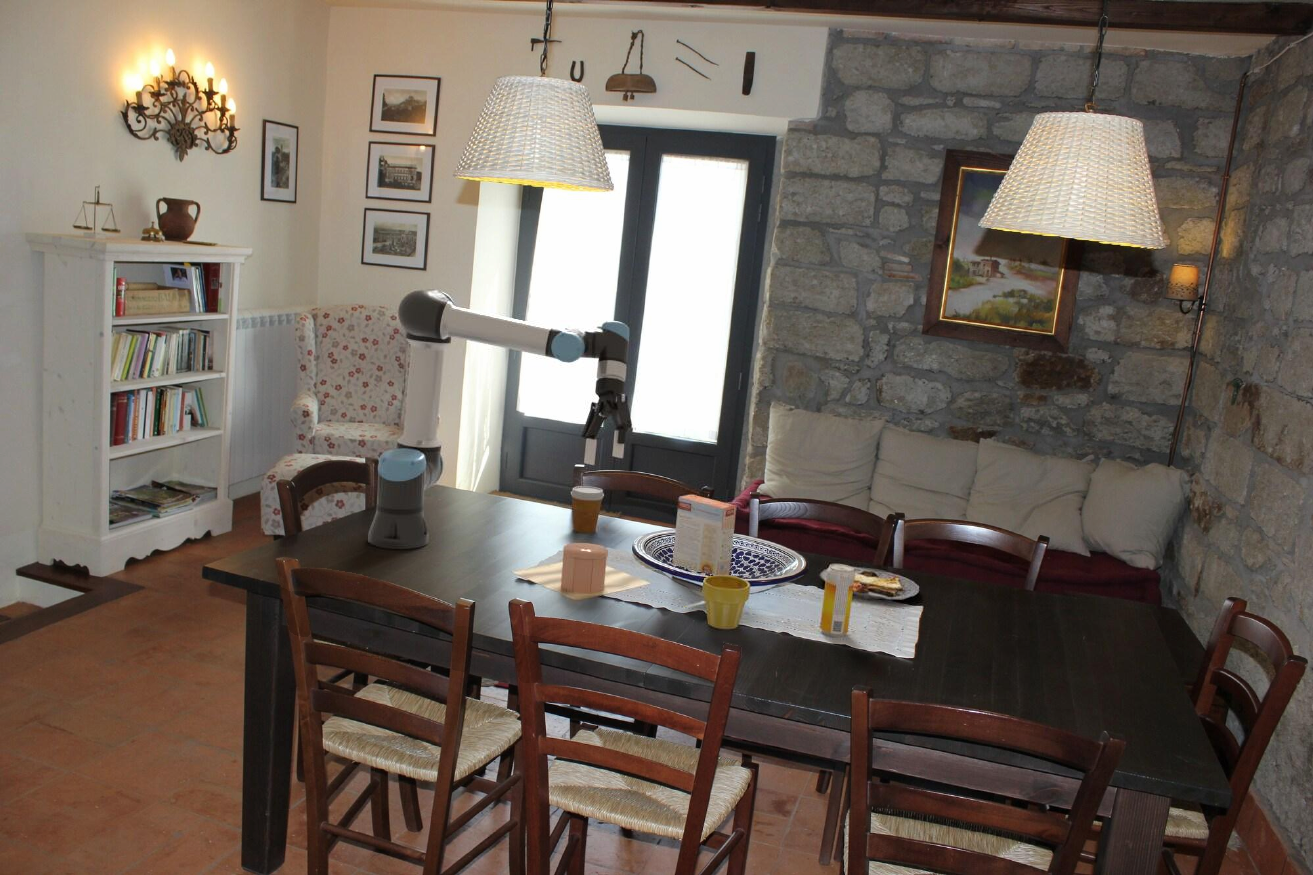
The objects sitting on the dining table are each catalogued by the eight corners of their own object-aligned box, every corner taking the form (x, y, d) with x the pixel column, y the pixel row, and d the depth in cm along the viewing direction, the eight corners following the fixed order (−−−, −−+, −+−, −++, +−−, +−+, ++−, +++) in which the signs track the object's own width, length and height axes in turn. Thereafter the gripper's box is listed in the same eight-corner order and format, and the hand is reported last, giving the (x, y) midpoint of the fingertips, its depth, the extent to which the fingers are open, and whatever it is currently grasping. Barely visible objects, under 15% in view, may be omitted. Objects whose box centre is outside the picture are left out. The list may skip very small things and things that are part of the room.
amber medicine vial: (841, 627, 223) (849, 563, 221) (851, 637, 217) (859, 572, 215) (815, 627, 222) (823, 562, 219) (824, 637, 216) (833, 571, 214)
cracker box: (729, 587, 245) (738, 505, 241) (714, 592, 240) (723, 508, 237) (685, 572, 253) (693, 492, 250) (670, 576, 249) (677, 495, 245)
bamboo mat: (511, 574, 239) (511, 571, 239) (585, 559, 256) (585, 557, 256) (576, 603, 223) (576, 600, 223) (651, 585, 240) (651, 583, 240)
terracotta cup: (551, 583, 233) (554, 546, 232) (584, 576, 241) (587, 540, 239) (580, 596, 226) (583, 558, 225) (613, 588, 234) (617, 552, 232)
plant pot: (689, 622, 217) (693, 579, 216) (717, 612, 225) (721, 571, 224) (727, 636, 211) (732, 592, 209) (754, 626, 219) (759, 583, 217)
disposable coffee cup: (563, 526, 287) (566, 485, 285) (593, 525, 291) (597, 485, 289) (574, 535, 279) (577, 493, 277) (606, 534, 283) (609, 493, 281)
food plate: (813, 592, 247) (815, 578, 246) (823, 568, 269) (825, 556, 268) (916, 612, 241) (919, 598, 240) (918, 586, 263) (920, 573, 262)
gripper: (650, 374, 249) (642, 456, 244) (597, 392, 269) (590, 469, 264) (625, 367, 245) (617, 450, 240) (573, 386, 265) (565, 463, 260)
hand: (603, 460), depth 252 cm, fingers open, 13 cm apart
